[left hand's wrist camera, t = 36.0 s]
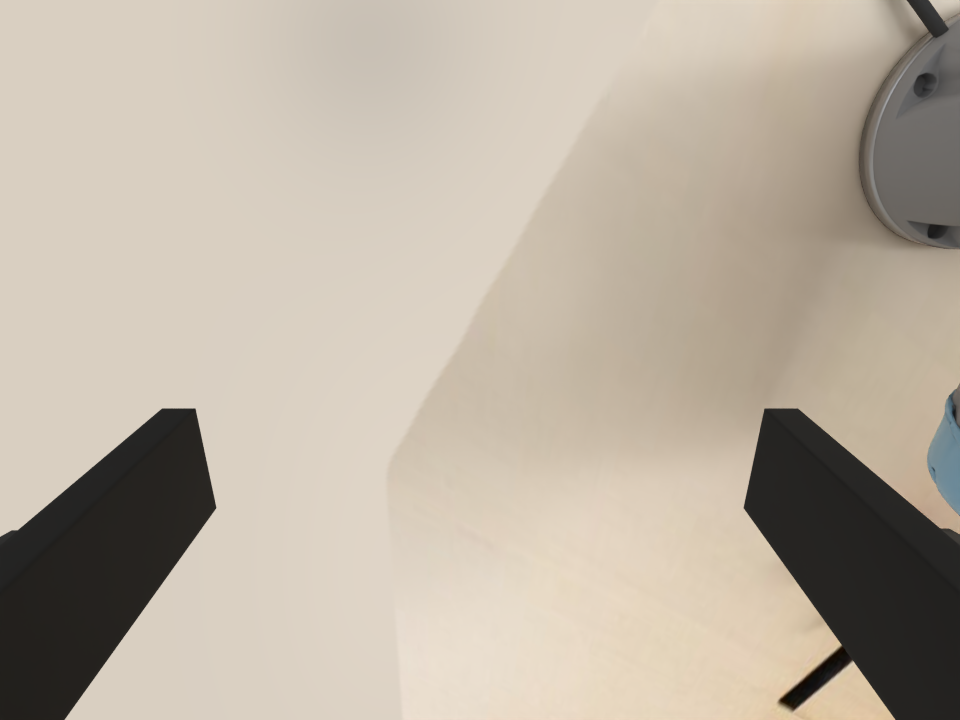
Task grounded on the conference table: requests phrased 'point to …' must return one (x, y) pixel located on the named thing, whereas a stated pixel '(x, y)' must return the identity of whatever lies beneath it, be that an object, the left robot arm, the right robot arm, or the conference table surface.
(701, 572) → the conference table surface
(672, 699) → the conference table surface
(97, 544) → the left robot arm
